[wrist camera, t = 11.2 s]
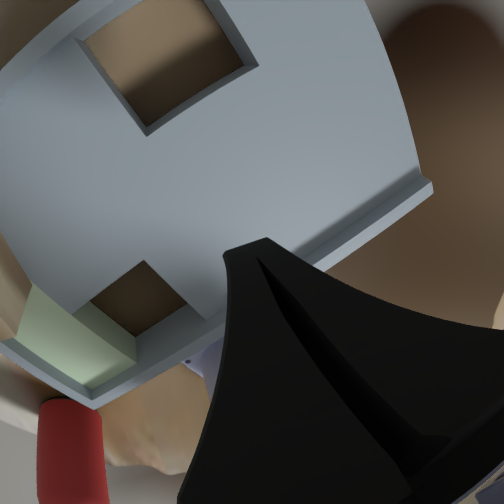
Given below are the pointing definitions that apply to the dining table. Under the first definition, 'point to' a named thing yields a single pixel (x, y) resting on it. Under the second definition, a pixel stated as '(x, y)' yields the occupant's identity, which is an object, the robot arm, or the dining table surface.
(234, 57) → the dining table surface
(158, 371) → the trap box
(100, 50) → the dining table surface
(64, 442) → the beer can
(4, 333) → the block
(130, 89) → the dining table surface
